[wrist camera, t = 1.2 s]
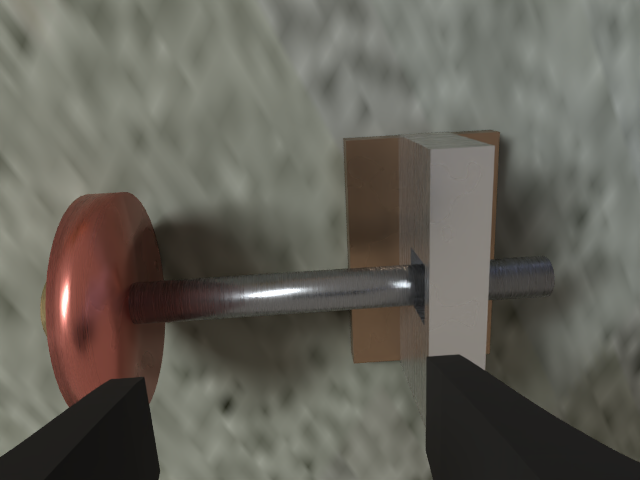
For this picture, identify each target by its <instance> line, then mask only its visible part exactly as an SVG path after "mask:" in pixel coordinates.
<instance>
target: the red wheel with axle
mask: <svg viewBox="0 0 640 480" xmlns="http://www.w3.org/2000/svg"><path fill="white" fill-rule="evenodd" d="M553 288H554V271H553V267H552V265H551V262H550V261H549V259H548V258H547V257H545V256H533V257H518V258H502V259H490V269H489V292H488V300H502V299H516V298H531V297H546V296H550V295H551V293H552V291H553ZM413 305H425V265H424V264H411V265H395V266H380V267H365V268H349V269H334V270H319V271H304V272H288V273H273V274H258V275H242V276H227V277H212V278H196V279H181V280H166V281H164V280H163V271H162V264H161V258H160V253H159V248H158V244H157V240H156V236H155V233H154V229H153V226H152V224H151V221H150V218H149V216H148V214H147V212H146V210H145V208H144V207H143V205H142V203H141V202H140V201H139V200H138V199H137V198H136V197H135V196H134V195H133V194H130V193H128V192H120V193H103V194H86V195H83V196H80V197H79V198H77V199H76V200H75V201H74V202H73V203H72V204H71V205H70V206H69V207H68V209H67V210H66V212H65V214H64V215H63V217H62V219H61V221H60V224H59V226H58V228H57V231H56V234H55V237H54V240H53V245H52V249H51V253H50V258H49V265H48V271H47V282H46V283H45V286H44V288H43V292H42V297H41V309H40V310H41V321H42V325H43V329H44V332H45V334H46V336H47V338H48V346H49V352H50V357H51V363H52V366H53V370H54V374H55V378H56V380H57V383H58V386H59V389H60V391H61V393H62V395H63V397H64V399H65V402H66V403H67V405H68V406H69V407H71V406H72V405H73V404H75V403H76V402H78V401H79V400H80V399H82V398H83V397H84V396H86V395H87V394H89V393H90V392H91V391H93V390H94V389H96V388H97V387H99V386H100V385H102V384H103V383H105V382H107V381H108V380H110V379H120V378H134V377H145V383H146V389H147V395H148V401H149V403H150V401H151V399H152V397H153V394H154V392H155V389H156V385H157V382H158V378H159V373H160V368H161V363H162V356H163V348H164V337H165V322H178V321H193V320H207V319H222V318H237V317H252V316H266V315H281V314H296V313H310V312H325V311H340V310H355V309H369V308H384V307H399V306H413Z"/></svg>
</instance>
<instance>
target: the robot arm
mask: <svg viewBox="0 0 640 480" xmlns="http://www.w3.org/2000/svg"><path fill="white" fill-rule="evenodd" d="M426 454H427V457H428V461H429V465H430V469H431V473H432V477H433V480H640V463H639V462H637V461H635V460H633V459H631V458H629V457H627V456H625V455H623V454H621V453H619V452H617V451H615V450H613V449H611V448H609V447H607V446H606V445H604V444H602V443H600V442H598V441H597V440H595V439H593V438H591V437H590V436H588V435H586V434H584V433H583V432H581V431H579V430H577V429H576V428H574V427H572V426H570V425H569V424H567V423H565V422H563V421H562V420H560V419H559V418H557V417H555V416H554V415H552V414H550V413H549V412H547V411H546V410H544V409H542V408H541V407H539V406H538V405H536V404H534V403H533V402H531V401H530V400H528V399H527V398H525V397H524V396H522V395H521V394H519V393H518V392H516V391H515V390H513V389H512V388H510V387H509V386H507V385H506V384H504V383H503V382H501V381H500V380H498V379H497V378H495V377H494V376H492V375H491V374H489V373H488V372H486V371H485V370H483V369H482V368H480V367H479V366H477V365H476V364H474V363H473V362H471V361H470V360H468V359H467V358H465V357H463V356H461V355H460V354H456V355H442V356H428V357H426ZM159 474H160V468H159V461H158V455H157V449H156V443H155V437H154V431H153V425H152V419H151V413H150V407H149V401H148V395H147V389H146V383H145V377H134V378H120V379H110V380H108V381H107V382H105V383H103V384H102V385H100V386H99V387H97V388H96V389H94V390H93V391H91V392H90V393H89V394H87V395H86V396H84V397H83V398H82V399H80V400H79V401H78V402H76V403H75V404H73V405H72V406H71V407H69V408H68V409H67V410H65V411H64V412H63V413H61V414H60V415H59V416H57V417H56V418H54V419H53V420H52V421H50V422H49V423H48V424H46V425H45V426H44V427H42V428H41V429H39V430H38V431H37V432H35V433H34V434H33V435H31V436H30V437H28V438H27V439H26V440H24V441H23V442H22V443H20V444H19V445H17V446H16V447H15V448H13V449H12V450H10V451H9V452H7V453H6V454H4V455H3V456H1V457H0V480H158V479H159Z"/></svg>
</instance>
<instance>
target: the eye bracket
mask: <svg viewBox="0 0 640 480" xmlns="http://www.w3.org/2000/svg"><path fill="white" fill-rule="evenodd" d="M499 137H500V132H498V131H493V130H482V131H464V132H436V133H418V134H401V135H394V136H376V137H359V138H343V142H344V168H345V194H346V221H347V247H348V269H349V268H365V267H380V266H395V265H411V264H424V265H425V305H413V306H399V307H384V308H369V309H355V310H350V326H351V352H352V357H353V362H354V363H366V362H380V361H394V360H400V363H401V366H402V368H403V371H404V373H405V376H406V378H407V381H408V384H409V386H410V389H411V391H412V394H413V396H414V399H415V402H416V404H417V407H418V409H419V412H420V414H421V417H422V419H423V422H424V425H425V427H426V357H428V356H442V355H456V354H460V355H461V356H463V357H465V358H467V359H468V360H470V361H471V362H473V363H474V364H476V365H477V366H479V367H480V368H482V369H483V370H485V362H486V354H490V334H491V312H492V300H488V292H489V269H490V259H494V246H495V224H496V202H497V180H498V159H499Z"/></svg>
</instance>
